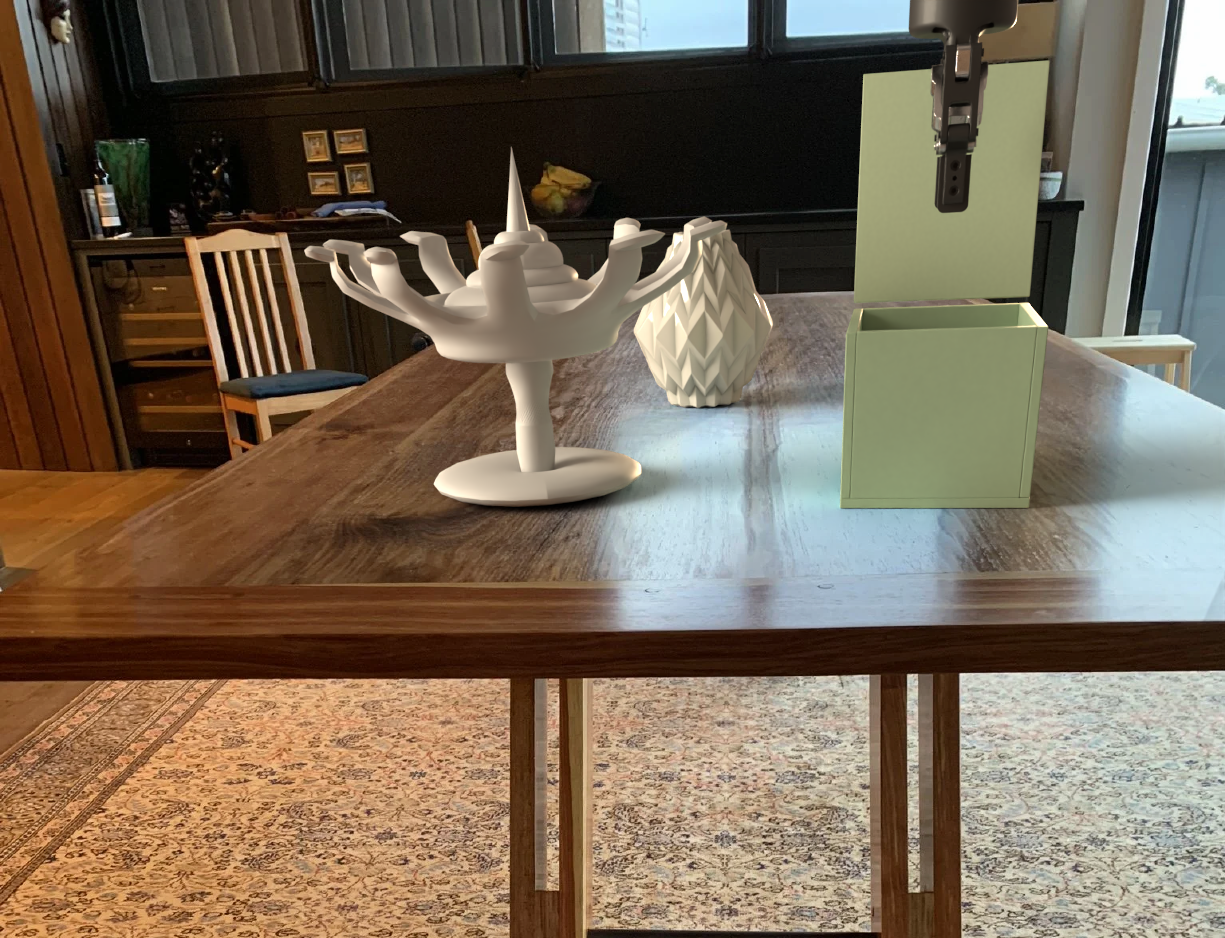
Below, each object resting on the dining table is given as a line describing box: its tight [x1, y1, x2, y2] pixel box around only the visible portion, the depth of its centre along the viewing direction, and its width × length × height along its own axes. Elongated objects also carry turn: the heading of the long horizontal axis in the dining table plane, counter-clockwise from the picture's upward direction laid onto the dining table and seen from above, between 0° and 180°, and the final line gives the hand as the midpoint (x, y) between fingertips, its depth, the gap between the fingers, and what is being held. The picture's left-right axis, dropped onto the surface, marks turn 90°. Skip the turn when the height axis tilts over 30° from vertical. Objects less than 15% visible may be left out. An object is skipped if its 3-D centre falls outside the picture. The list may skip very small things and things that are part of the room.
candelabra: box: [304, 146, 728, 508], centre depth 104 cm, size 34×35×27 cm
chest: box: [839, 302, 1049, 509], centre depth 100 cm, size 17×15×13 cm
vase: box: [633, 229, 774, 409], centre depth 141 cm, size 16×16×18 cm
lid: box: [853, 60, 1050, 304], centre depth 101 cm, size 17×15×1 cm
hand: (950, 210), depth 93 cm, fingers open, 8 cm apart
